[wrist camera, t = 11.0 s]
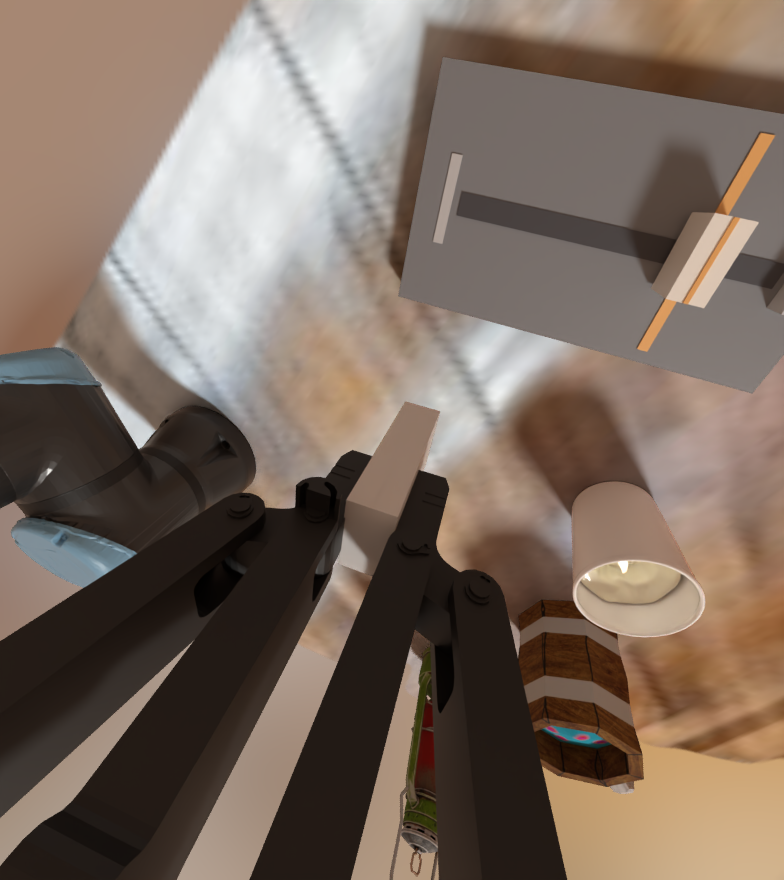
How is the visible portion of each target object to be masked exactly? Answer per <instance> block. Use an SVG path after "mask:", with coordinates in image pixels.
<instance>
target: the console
mask: <svg viewBox="0 0 784 880" xmlns="http://www.w3.org/2000/svg"><path fill="white" fill-rule="evenodd" d="M692 212H704V213H718V214H723V215H728V216H733V217H738V218H742V219H747V220H752V221H756V222H759V223H758V225H757V226H756V228H755V229H754V231H753V233H752V234H751V236H750V237H749V239H748V240H747V242H746V244H745V245H744V247H743V248H742V250H741V251H740V253H739V255H738V256H737V258H736V259H735V261H734V262H733V264H732V266H731V267H730V269H729V270H728V272H727V273H726V275H725V276H724V278H723V280H722V281H721V283H720V284H719V286H718V287H717V289H716V291H715V292H714V294H713V295H712V297H711V298H710V300H709V302H708V303H707V305H706V306H705V308H701V307H697V306H693V305H689V304H684V303H680V302H676V301H672V300H668V299H665V298H664V297H662V296H661V295H659V294H658V293H657V292H655V291H654V290H652V289H651V287H652V285H653V283H654V282H655V280H656V278H657V276H658V274H659V272H660V271H661V269H662V267H663V265H664V263H665V261H666V259H667V258H668V256H669V254H670V252H671V250H672V248H673V247H674V245H675V243H676V241H677V239H678V237H679V236H680V234H681V232H682V230H683V228H684V226H685V225H686V223H687V221H688V219H689V217H690V215H691V214H692ZM398 296H399V297H403V298H407V299H410V300H414V301H418V302H421V303H425V304H429V305H432V306H436V307H439V308H443V309H447V310H450V311H454V312H458V313H461V314H465V315H469V316H472V317H476V318H479V319H483V320H487V321H490V322H494V323H498V324H501V325H505V326H509V327H512V328H516V329H519V330H523V331H527V332H530V333H534V334H538V335H541V336H545V337H549V338H552V339H556V340H559V341H563V342H567V343H570V344H574V345H578V346H581V347H585V348H589V349H592V350H596V351H599V352H603V353H607V354H610V355H614V356H618V357H621V358H625V359H629V360H632V361H636V362H639V363H643V364H647V365H650V366H654V367H658V368H661V369H665V370H669V371H672V372H676V373H679V374H683V375H687V376H690V377H694V378H698V379H701V380H705V381H709V382H712V383H716V384H719V385H723V386H727V387H730V388H734V389H738V390H741V391H745V392H749V393H753V392H754V391H755V390H756V388H757V387H758V386H759V385H760V383H761V382H762V381H763V380H764V379H765V377H766V376H767V375H768V374H769V372H770V371H771V370H772V369H773V367H774V366H775V365H776V364H777V362H778V361H779V360H780V359H781V358H782V356H783V355H784V114H781V113H775V112H769V111H763V110H757V109H751V108H745V107H739V106H733V105H727V104H721V103H715V102H709V101H703V100H697V99H691V98H685V97H679V96H673V95H667V94H661V93H655V92H649V91H643V90H637V89H631V88H625V87H619V86H613V85H607V84H601V83H595V82H589V81H583V80H577V79H571V78H565V77H560V76H554V75H548V74H542V73H536V72H530V71H524V70H518V69H512V68H506V67H500V66H494V65H488V64H482V63H476V62H470V61H464V60H458V59H452V58H446V57H443V58H442V63H441V69H440V74H439V79H438V85H437V90H436V96H435V101H434V106H433V112H432V117H431V123H430V128H429V133H428V139H427V144H426V149H425V155H424V160H423V166H422V171H421V176H420V182H419V187H418V193H417V198H416V203H415V209H414V214H413V220H412V225H411V230H410V236H409V241H408V246H407V252H406V257H405V263H404V268H403V273H402V279H401V284H400V290H399V295H398Z"/></svg>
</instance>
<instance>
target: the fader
mask: <svg viewBox="0 0 784 880" xmlns="http://www.w3.org/2000/svg"><path fill="white" fill-rule="evenodd" d="M758 223H759V222H756V221H752V220H747V219H742V218H738V217H733V216H728V215H723V214H718V213H704V212H692V214H691V215H690V217H689V219H688V221H687V223H686V225H685V226H684V228H683V230H682V232H681V234H680V236H679V237H678V239H677V241H676V243H675V245H674V247H673V248H672V250H671V252H670V254H669V256H668V258H667V259H666V261H665V263H664V265H663V267H662V269H661V271H660V272H659V274H658V276H657V278H656V280H655V282H654V283H653V285H652V287H651V289H652V290H654V291H655V292H657V293H658V294H659V295H661V296H662V297H664V298H665V299H668V300H672V301H676V302H680V303H684V304H689V305H693V306H697V307H701V308H705V306H706V305H707V303H708V302H709V300H710V298H711V297H712V295H713V294H714V292H715V291H716V289H717V287H718V286H719V284H720V283H721V281H722V280H723V278H724V276H725V275H726V273H727V272H728V270H729V269H730V267H731V266H732V264H733V262H734V261H735V259H736V258H737V256H738V255H739V253H740V251H741V250H742V248H743V247H744V245H745V244H746V242H747V240H748V239H749V237H750V236H751V234H752V233H753V231H754V229H755V228H756V226H757V225H758Z"/></svg>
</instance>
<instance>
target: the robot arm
mask: <svg viewBox="0 0 784 880" xmlns="http://www.w3.org/2000/svg"><path fill="white" fill-rule="evenodd" d="M101 386H102V385H101V383H100V382H98V381H96V380H95V378H94V377H93V375H92V374H91V373H90V371H89V370H88V368H87V367H86V365H85V364H84V362H83V361H82V360H81V358H80V357H79V356H78V355H77V354H75V353H74V352H72V351H70V350H68V349H64V348H57V347H53V348H44V349H36V350H29V351H22V352H16V353H10V354H3V355H0V508H2V507H4V506H6V505H8V504H10V503H12V502H15V503H16V504H17V505H18V506H19V508H20V509H21V510H22V511H23V513H24V514H25V516H26V517H25V518H22V519H21V520H19V521H17V524H16V525H15V526H14V527H13V528H12V530H11V535H12V538H14V539H15V543H16V544H17V545H18V547H19V548H20V549H21V550H22V551H23V552H24V553H25V554H26V555H28V556H29V557H30V558H31V559H32V560H34V561H35V562H36V563H38V564H39V565H41V566H42V567H44V568H45V569H47V570H48V571H50V572H51V573H53V574H55V575H57V576H58V577H60V578H62V579H64V580H66V581H68V582H70V583H72V584H75V585H77V586H80V587H83V589H81V590H80V591H78V592H76V593H75V594H73V595H72V596H70V597H69V598H67V599H66V600H64V601H62V602H61V603H59V604H58V605H56V606H55V607H53V608H52V609H50V610H48V611H47V612H45V613H44V614H42V615H40V616H39V617H38V618H36V619H34V620H33V621H31V622H29V623H28V624H26V625H25V626H23V627H22V628H20V629H19V630H17V631H15V632H14V633H12V634H11V635H9V636H8V637H6V638H5V639H3V640H1V641H0V817H2V816H3V815H4V814H5V813H6V812H7V811H8V810H9V809H10V808H11V807H13V806H14V805H15V804H16V803H17V802H18V801H19V800H20V799H21V798H22V797H23V796H24V795H26V794H27V793H28V792H29V791H30V790H31V789H32V788H33V787H34V786H35V785H37V784H38V783H39V782H40V781H41V780H42V779H43V778H44V777H45V776H46V775H47V774H48V773H50V772H51V771H52V770H53V769H54V768H55V767H56V766H57V765H58V764H59V763H61V762H62V761H63V760H64V759H65V758H66V757H67V756H68V755H69V754H70V753H71V752H73V750H74V749H76V748H77V747H78V746H79V745H80V744H81V743H82V742H83V741H85V740H86V739H87V738H88V737H89V736H90V735H91V734H92V733H93V732H94V731H95V730H96V729H98V728H99V727H100V726H101V725H102V724H103V723H104V722H105V721H106V720H107V719H108V718H110V717H111V716H112V715H113V714H114V713H115V712H116V711H117V710H118V709H119V708H120V707H122V706H123V705H124V704H125V703H126V702H127V701H128V700H129V699H130V698H131V697H132V696H134V694H136V693H137V692H138V691H139V690H140V689H141V688H142V687H143V686H144V685H145V684H147V683H148V682H149V681H150V680H151V679H152V678H153V677H154V676H155V675H156V674H158V673H159V672H160V671H161V670H162V669H163V668H164V667H165V666H166V665H167V664H168V663H170V662H171V661H172V660H173V659H174V658H175V657H176V656H177V655H178V654H179V653H180V652H181V651H183V650H184V649H185V648H186V647H187V646H188V645H189V644H190V643H191V642H192V641H193V643H192V644H191V645H190V647H189V648H188V649H187V651H186V652H185V653H184V655H183V656H182V657H181V659H180V660H179V661H178V663H177V664H176V665H175V667H174V668H173V670H172V671H171V672H170V673H169V675H168V676H167V677H166V679H165V680H164V681H163V683H162V684H161V685H160V687H159V688H158V689H157V690H156V692H155V693H154V695H153V696H152V697H151V698H150V700H149V701H148V702H147V704H146V705H145V706H144V708H143V709H142V711H141V712H140V713H139V714H138V716H137V717H136V718H135V720H134V721H133V722H132V724H131V725H130V726H129V728H128V729H127V730H126V732H125V733H124V734H123V736H122V737H121V738H120V739H119V741H118V742H117V743H116V745H115V746H114V748H113V749H112V750H111V751H110V753H109V754H108V755H107V757H106V758H105V759H104V761H103V762H102V763H101V765H100V766H99V768H98V769H97V770H96V771H95V773H94V774H93V775H92V777H91V778H90V779H89V781H88V782H87V783H86V785H85V786H84V787H83V789H82V790H81V791H80V792H79V793H78V795H77V796H76V797H75V798H74V800H73V801H72V802H71V803H70V804H69V805H67V806H66V807H65V808H64V809H63V810H62V811H60V812H59V813H57V814H55V815H54V816H52V817H50V818H49V819H47V820H45V821H44V822H42V823H41V824H40V825H38V826H37V827H36V828H35V829H34V830H33V831H32V832H31V833H30V834H29V835H27V836H26V837H25V838H24V839H23V840H22V841H21V843H20V844H19V845H18V846H17V847H16V848H15V849H14V850H13V852H12V853H11V854H10V855H9V856H8V857H7V859H6V860H5V861H4V862H3V863H2V865H1V866H0V880H177V878H178V876H179V874H180V872H181V869H182V867H183V865H184V863H185V861H186V859H187V858H188V855H189V854H190V852H191V850H192V848H193V846H194V844H195V842H196V840H197V838H198V836H199V834H200V832H201V830H202V828H203V826H204V824H205V822H206V820H207V819H208V817H209V814H210V813H211V811H212V809H213V807H214V805H215V803H216V801H217V799H218V797H219V795H220V793H221V791H222V789H223V787H224V785H225V783H226V781H227V779H228V778H229V776H230V774H231V772H232V770H233V768H234V766H235V764H236V762H237V760H238V758H239V756H240V754H241V752H242V750H243V748H244V746H245V744H246V742H247V740H248V738H249V737H250V735H251V732H252V731H253V729H254V727H255V725H256V723H257V721H258V719H259V717H260V715H261V713H262V711H263V709H264V707H265V705H266V703H267V701H268V699H269V697H270V696H271V693H272V692H273V690H274V688H275V686H276V684H277V682H278V680H279V678H280V676H281V674H282V672H283V670H284V668H285V666H286V664H287V662H288V660H289V658H290V656H291V655H292V653H293V651H294V649H295V646H296V645H297V643H298V641H299V639H300V637H301V635H302V633H303V631H304V629H305V627H306V625H307V623H308V621H309V619H310V617H311V615H312V614H313V612H314V610H315V608H316V606H317V604H318V602H319V600H320V598H321V596H322V594H323V592H324V590H325V588H326V586H327V584H328V582H329V580H330V578H331V575H332V570H333V565H334V563H335V561H336V559H337V557H338V555H339V558H338V564H340V565H343V566H346V567H349V568H351V569H354V570H357V571H360V572H362V573H365V574H368V575H371V576H373V577H372V580H371V582H370V585H369V587H368V590H367V592H366V594H365V597H364V599H363V602H362V604H361V607H360V609H359V612H358V614H357V617H356V619H355V622H354V624H353V626H352V629H351V631H350V634H349V636H348V639H347V641H346V644H345V646H344V649H343V651H342V653H341V656H340V658H339V661H338V663H337V666H336V668H335V671H334V673H333V676H332V678H331V681H330V683H329V685H328V688H327V690H326V693H325V695H324V698H323V700H322V703H321V705H320V708H319V710H318V713H317V715H316V717H315V720H314V722H313V725H312V727H311V730H310V732H309V735H308V737H307V740H306V742H305V745H304V747H303V749H302V752H301V755H300V757H299V759H298V762H297V764H296V767H295V769H294V772H293V774H292V776H291V779H290V781H289V784H288V786H287V789H286V791H285V794H284V796H283V799H282V801H281V803H280V806H279V808H278V811H277V813H276V816H275V818H274V821H273V823H272V826H271V828H270V831H269V833H268V835H267V838H266V840H265V843H264V845H263V848H262V850H261V853H260V856H259V858H258V860H257V863H256V865H255V867H254V870H253V872H252V875H251V877H250V880H351V876H352V872H353V869H354V865H355V861H356V857H357V853H358V849H359V845H360V841H361V837H362V833H363V829H364V825H365V821H366V817H367V814H368V810H369V806H370V802H371V798H372V794H373V790H374V786H375V782H376V778H377V774H378V771H379V767H380V762H381V759H382V755H383V751H384V747H385V743H386V739H387V735H388V731H389V727H390V724H391V720H392V715H393V712H394V708H395V703H396V700H397V696H398V692H399V688H400V684H401V681H402V677H403V673H404V669H405V665H406V661H407V657H408V653H409V649H410V645H411V641H412V637H413V634H414V630H417V631H418V632H419V633H420V634H422V635H423V636H424V637H425V638H427V639H428V640H429V641H430V652H431V679H432V706H433V733H434V760H435V787H436V814H437V840H438V865H439V880H567V877H566V872H565V868H564V864H563V859H562V854H561V850H560V845H559V841H558V836H557V832H556V827H555V823H554V818H553V814H552V810H551V805H550V800H549V796H548V791H547V787H546V783H545V778H544V774H543V769H542V765H541V760H540V756H539V751H538V747H537V742H536V738H535V733H534V729H533V724H532V720H531V715H530V711H529V706H528V702H527V697H526V693H525V688H524V684H523V679H522V675H521V670H520V666H519V661H518V657H517V652H516V648H515V644H514V639H513V635H512V630H511V626H510V621H509V617H508V612H507V608H506V603H505V599H504V595H503V592H502V590H501V588H500V586H499V585H498V583H497V582H496V581H495V580H494V579H493V578H492V577H490V576H489V575H487V574H486V573H484V572H481V571H478V570H465V571H462V572H459V571H457V570H456V569H454V568H453V567H451V566H450V565H449V564H447V563H446V562H445V561H444V560H443V558H442V557H441V556H440V554H439V552H438V550H437V546H436V540H437V535H438V531H439V527H440V524H441V520H442V516H443V512H444V508H445V504H446V500H447V496H448V492H449V486H448V483H447V480H446V478H443V477H440V476H437V475H434V474H431V473H427V472H424V471H423V470H424V468H425V465H426V462H427V458H428V454H429V451H430V447H431V443H432V440H433V436H434V432H435V429H436V425H437V421H438V418H439V414H440V411H437V410H433V409H430V408H426V407H423V406H419V405H416V404H412V403H409V402H405V403H404V405H403V406H402V408H401V410H400V411H399V413H398V415H397V416H396V418H395V420H394V421H393V423H392V425H391V426H390V428H389V430H388V431H387V433H386V435H385V436H384V438H383V440H382V441H381V443H380V445H379V446H378V448H377V450H376V451H375V453H374V455H373V456H370V455H367V454H363V453H360V452H357V451H354V450H352V451H350V452H348V453H346V454H344V455H343V456H341V458H340V459H339V460H338V462H337V463H336V465H335V466H334V467H333V469H332V470H331V472H330V473H329V474H328V476H327V477H326V478H322V477H311V478H307V479H305V480H302V481H301V482H299V483H298V484H297V485H296V503H295V508H290V509H278V508H265V504H264V501H263V500H262V499H261V498H260V497H259V496H256V495H254V494H251V493H242V492H243V491H244V490H245V489H246V488H247V487H248V486H249V485H250V484H251V483H252V481H253V480H254V477H255V473H256V464H255V459H254V455H253V452H252V450H251V448H250V446H249V444H248V442H247V441H246V439H245V438H244V436H243V435H242V434H241V433H240V431H239V430H238V429H237V428H236V427H235V426H234V425H233V424H232V423H230V422H229V421H228V420H227V419H225V418H224V417H222V416H221V415H219V414H218V413H216V412H214V411H211V410H209V409H206V408H203V407H197V406H188V407H184V408H182V409H180V410H178V411H176V412H174V413H173V414H171V415H169V416H168V417H167V418H165V420H164V421H163V422H162V423H161V425H160V427H159V428H158V429H157V430H156V431H155V432H154V433H153V434H152V436H151V437H150V438H149V439H148V441H147V442H146V443H145V444H144V446H143V447H142V448H140V449H138V448H137V446H136V444H135V443H134V441H133V439H132V438H131V436H130V435H129V433H128V431H127V430H126V428H125V426H124V425H123V423H122V421H121V420H120V418H119V416H118V415H117V413H116V412H115V410H114V408H113V407H112V405H111V403H110V402H109V400H108V398H107V397H106V395H105V393H104V392H103V390H102V388H101Z"/></svg>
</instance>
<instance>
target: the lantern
mask: <svg viewBox="0 0 784 880" xmlns="http://www.w3.org/2000/svg"><path fill="white" fill-rule="evenodd" d="M419 685H420V688H419V695H418V702H417V709H416V713H415V718H414V720H415V722H414V727H412V732H413V735H412V741H411V748H410V755H409V762H408V768H407V775H406V787H405V789H404V790H403V791H402V792H401V794H400V824H399V829H398V834H397V839H396V845H395V850H394V855H393V860H392V866H391V870H390V880H393V872H394V867H395V862H396V856H397V851H398V846H399V841H400V835H402V837H403V838H404V839H405V840H406V842H407V843H408V844H409V845H410V846H411V847H412V848H413V849H414V850H415V852H414V853H413V855H412V859H411V863H410V867H411V872H412V873H414V874H415V875H416V876H418V875H419V873H420V869H421V863H422V859H421V854H422V853H432V852H436V853H435V859H434V865H433V870H432V876H431V880H434V877H435V871H436V865H437V859H438V840H437V814H436V787H435V760H434V733H433V706H432V679H431V652H430V647H428V648H427V649H426V650H425V651H424V652H423V659H422V666H421V670H420V674H419ZM427 695H428V696H429V697H430V698H431V699H430V700H429V701H428V699H427V697H426V696H427ZM406 791H407V793H406ZM405 793H406V799H407V802H406V807H405V813H404V814H405V816H404V820H403V795H404V794H405ZM402 825H403V826H404V828H403V829H402ZM417 853H418V854H419V859H420V863H419V869H418V872H417V873H416V872H415V871H413V868H412V864H413V858H414V855H416V854H417Z"/></svg>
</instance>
